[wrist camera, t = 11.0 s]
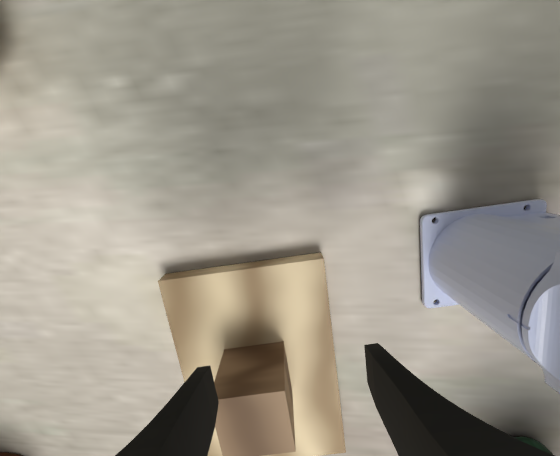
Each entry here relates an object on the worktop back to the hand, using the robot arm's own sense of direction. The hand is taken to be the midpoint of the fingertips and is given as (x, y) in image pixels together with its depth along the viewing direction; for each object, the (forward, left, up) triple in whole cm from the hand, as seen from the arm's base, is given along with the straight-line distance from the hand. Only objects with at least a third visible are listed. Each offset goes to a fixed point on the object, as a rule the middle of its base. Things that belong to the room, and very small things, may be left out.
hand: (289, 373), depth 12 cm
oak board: (+3, +8, -10) cm, 13 cm away
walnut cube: (+3, +7, -9) cm, 12 cm away
